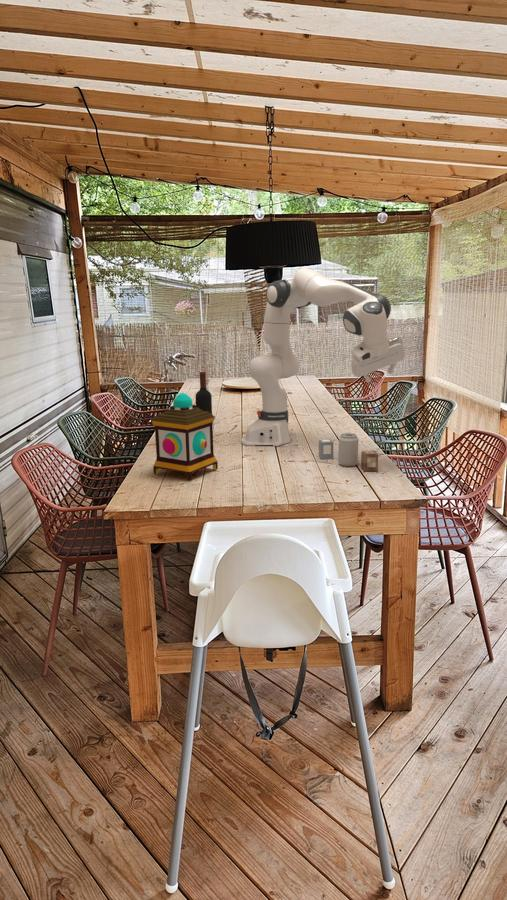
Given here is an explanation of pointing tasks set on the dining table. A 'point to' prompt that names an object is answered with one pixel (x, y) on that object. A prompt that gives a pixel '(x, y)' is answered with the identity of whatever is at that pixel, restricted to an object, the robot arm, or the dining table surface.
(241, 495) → the dining table surface
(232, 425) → the dining table surface
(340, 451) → the can
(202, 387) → the wine bottle
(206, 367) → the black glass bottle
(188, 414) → the decorative lantern
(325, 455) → the slate block
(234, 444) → the dining table surface
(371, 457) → the walnut block
